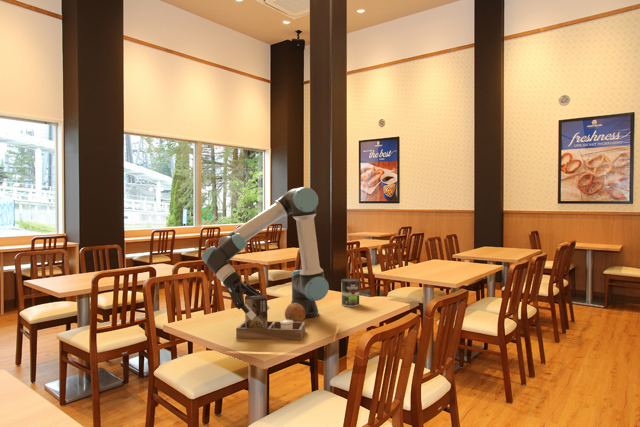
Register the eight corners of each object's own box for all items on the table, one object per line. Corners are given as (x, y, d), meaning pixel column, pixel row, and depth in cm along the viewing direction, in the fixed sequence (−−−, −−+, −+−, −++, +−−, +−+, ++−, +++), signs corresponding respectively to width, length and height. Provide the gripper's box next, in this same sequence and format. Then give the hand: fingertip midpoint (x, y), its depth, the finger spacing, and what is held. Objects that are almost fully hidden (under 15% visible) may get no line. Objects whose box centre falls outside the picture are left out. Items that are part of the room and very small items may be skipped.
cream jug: (281, 333, 176) (281, 319, 176) (294, 333, 175) (294, 319, 175) (278, 337, 170) (278, 323, 170) (292, 337, 170) (291, 323, 170)
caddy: (245, 331, 181) (244, 320, 181) (305, 333, 178) (305, 322, 178) (236, 340, 169) (236, 328, 169) (300, 342, 166) (300, 330, 166)
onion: (308, 322, 196) (307, 301, 196) (302, 327, 187) (302, 305, 186) (288, 320, 199) (288, 300, 198) (282, 326, 189) (281, 304, 189)
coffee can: (362, 306, 228) (361, 280, 228) (344, 307, 225) (344, 281, 225) (356, 302, 238) (356, 277, 238) (339, 303, 235) (338, 278, 235)
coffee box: (266, 331, 178) (265, 294, 178) (268, 336, 172) (267, 297, 172) (244, 333, 176) (244, 295, 176) (246, 337, 170) (245, 299, 170)
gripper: (237, 278, 191) (267, 312, 186) (207, 288, 167) (241, 327, 162) (247, 267, 189) (278, 301, 185) (219, 275, 165) (253, 315, 161)
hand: (261, 313), depth 174 cm, fingers open, 13 cm apart
